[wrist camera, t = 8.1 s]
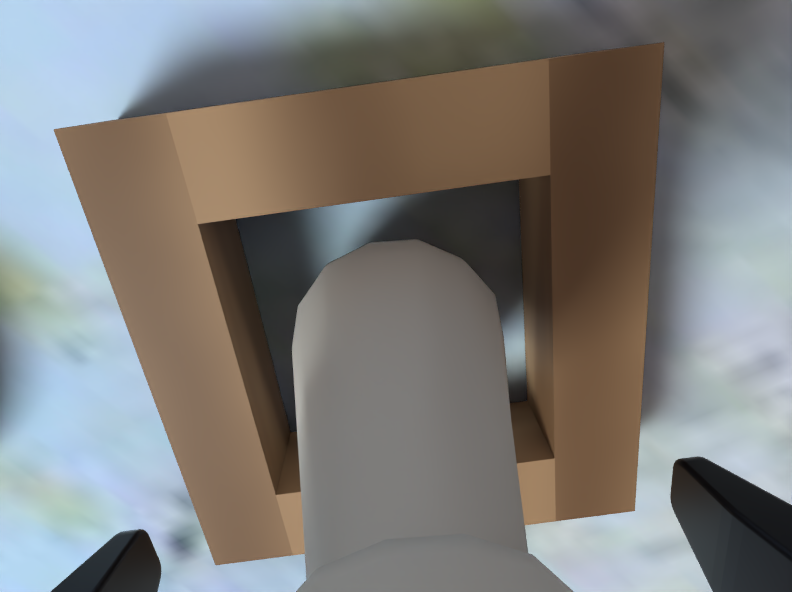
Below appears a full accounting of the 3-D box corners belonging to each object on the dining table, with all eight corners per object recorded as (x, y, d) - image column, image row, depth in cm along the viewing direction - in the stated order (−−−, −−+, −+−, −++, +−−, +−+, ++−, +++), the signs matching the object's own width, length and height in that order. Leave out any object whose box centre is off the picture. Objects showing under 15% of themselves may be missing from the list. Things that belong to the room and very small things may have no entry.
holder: (606, 49, 14) (664, 42, 11) (596, 448, 19) (634, 510, 16) (116, 119, 14) (53, 129, 11) (238, 495, 19) (215, 565, 17)
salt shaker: (278, 246, 16) (-31, 786, 4) (462, 195, 15) (782, 613, 3) (337, 402, 18) (263, 1054, 6) (499, 361, 18) (770, 968, 6)
